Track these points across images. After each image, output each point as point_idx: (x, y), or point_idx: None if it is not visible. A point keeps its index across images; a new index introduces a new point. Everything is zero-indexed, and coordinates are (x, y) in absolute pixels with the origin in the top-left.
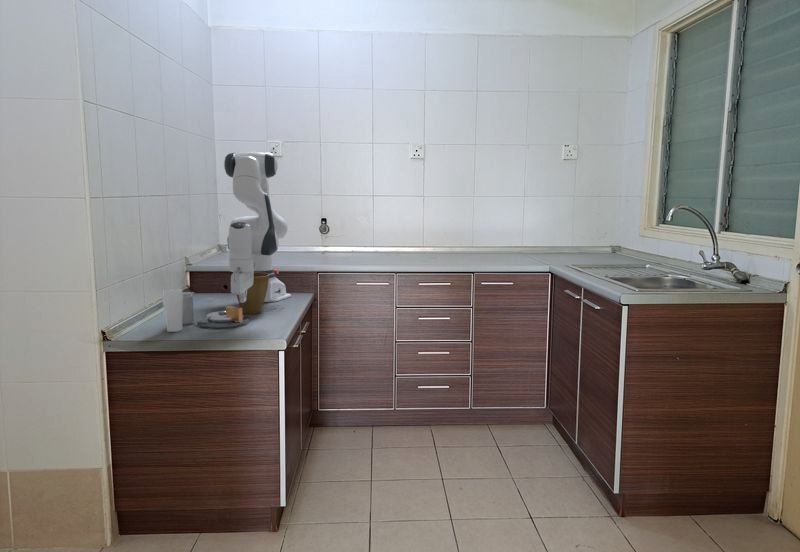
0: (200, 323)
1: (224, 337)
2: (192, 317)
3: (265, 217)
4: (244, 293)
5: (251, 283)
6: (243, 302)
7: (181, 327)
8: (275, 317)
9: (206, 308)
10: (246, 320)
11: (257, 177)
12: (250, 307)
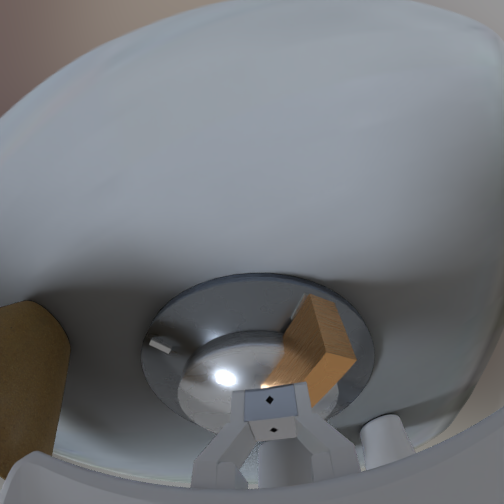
0: (331, 415)
1: (496, 258)
2: (291, 450)
3: None
4: (320, 454)
5: (61, 487)
6: (305, 384)
7: (389, 421)
8: (67, 183)
9: (90, 435)
10: (251, 288)
11: None
12: (53, 345)
